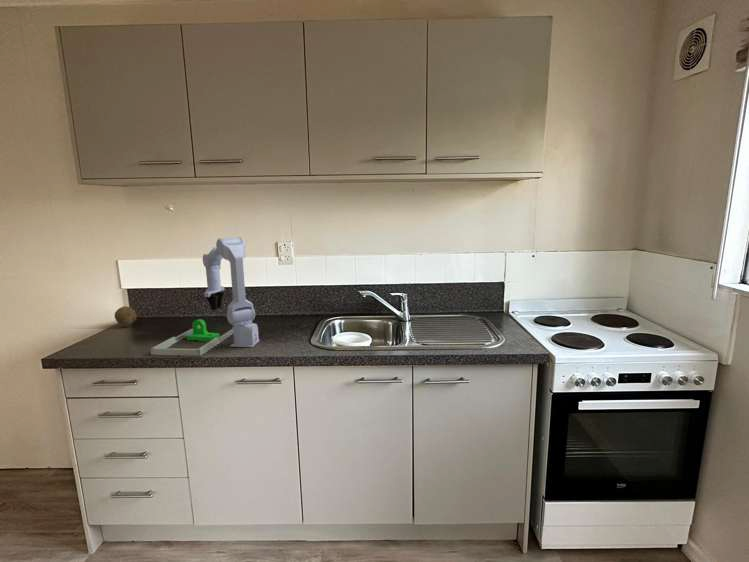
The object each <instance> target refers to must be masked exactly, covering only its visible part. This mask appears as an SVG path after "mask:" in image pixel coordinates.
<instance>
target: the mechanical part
mask: <svg viewBox="0 0 749 562" xmlns="http://www.w3.org/2000/svg"><path fill="white" fill-rule="evenodd" d="M191 325H192V326H191V327H192V328H193V333H192V334H190V335H188V336H187V337H186V341H194V340H198V341H197V342H210V341H211V340H213V339H215V338H219V337H220V336H221V335H220V333H217V332H208V330H207V325H206V322H205V320H204V319H201V318H199V319H195V320H193V322H192V324H191ZM198 325H200V328H199V327H198Z"/></svg>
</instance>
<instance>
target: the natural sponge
mask: <svg viewBox="0 0 749 562" xmlns="http://www.w3.org/2000/svg"><path fill="white" fill-rule="evenodd" d="M137 318H138V315H137V313H136V311H135V310H134V309H133V308H132V307H130V306H121V307H119V308H118V309H116V311H115V312H114V319H115V321H116V322H117V324H118V325H119V326H121V327H124V328H128V327H129V326H131V324H132V323H133V322H135V321H136V320H137Z"/></svg>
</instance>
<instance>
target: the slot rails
mask: <svg viewBox="0 0 749 562" xmlns="http://www.w3.org/2000/svg"><path fill="white" fill-rule="evenodd" d="M198 327H199V328H200V325H199V324H198ZM192 333H193V327H192V328H190V329H188V330H187V331H184V332H183V333H181V334H179V335H177V336H174V337H175V338H176V343H178V342H180V341H182V340H183V338H184V339H185V338H187V336H188V335H190V334H192ZM230 335H231V336H232V335H233V328H231V329H230V330H228V331H227V332H225V333H223V334H222V335H220V337H219V338H218V340H219V344H221V343H222V342H223V341H225V340H226V339H228V338H229V337H231V336H230ZM227 337H228V338H227ZM181 339H182V340H181ZM224 339H225V340H224Z"/></svg>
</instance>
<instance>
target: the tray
mask: <svg viewBox="0 0 749 562" xmlns="http://www.w3.org/2000/svg"><path fill="white" fill-rule="evenodd" d="M175 337H176V336H172V337H170V338H168V339H166V340H164V341H163V342H161V343H159V344H157V345H155V346H153V347H151V348H150V355H151V356H178V355H180V356H185V357H186V356H187V357H189V356H190V357H201V356H203V355H204V354H206V353H207V352H209V351H211V350H212V349H213V348H215V347H216V346H218V345H219V344H220V343H219V340H218V338H215V339H213V340H211V341H207V342H206V343H205V344H204V345H202V346H200V347H199V348H173V347H172V348H169V347H171V346H173V345H175V344H176V343H177V342H176V338H175ZM174 343H175V344H174ZM172 344H173V345H172ZM217 344H218V345H217ZM214 346H215V347H214ZM211 348H212V349H211ZM208 350H209V351H208ZM202 354H203V355H202Z"/></svg>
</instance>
